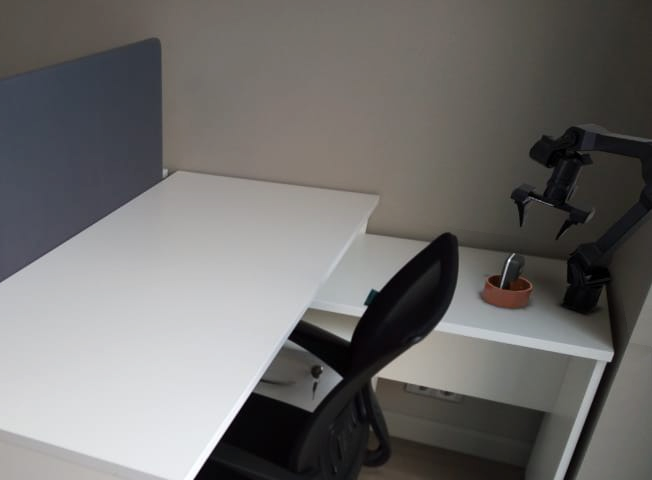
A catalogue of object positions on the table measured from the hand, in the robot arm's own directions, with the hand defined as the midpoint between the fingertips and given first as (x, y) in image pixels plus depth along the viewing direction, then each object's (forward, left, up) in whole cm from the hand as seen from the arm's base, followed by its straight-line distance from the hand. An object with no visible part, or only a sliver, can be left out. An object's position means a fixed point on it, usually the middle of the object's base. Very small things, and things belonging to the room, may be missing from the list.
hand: (538, 233), depth 188 cm
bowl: (-3, +16, -13) cm, 21 cm away
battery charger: (-3, +16, -13) cm, 21 cm away
